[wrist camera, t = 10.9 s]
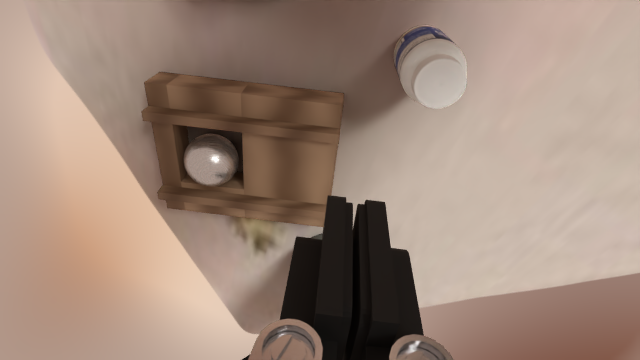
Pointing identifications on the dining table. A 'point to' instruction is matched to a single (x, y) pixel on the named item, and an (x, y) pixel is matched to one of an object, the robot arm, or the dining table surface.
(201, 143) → the steel ball
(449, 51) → the pill bottle
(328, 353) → the robot arm
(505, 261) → the dining table surface
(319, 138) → the wooden box
